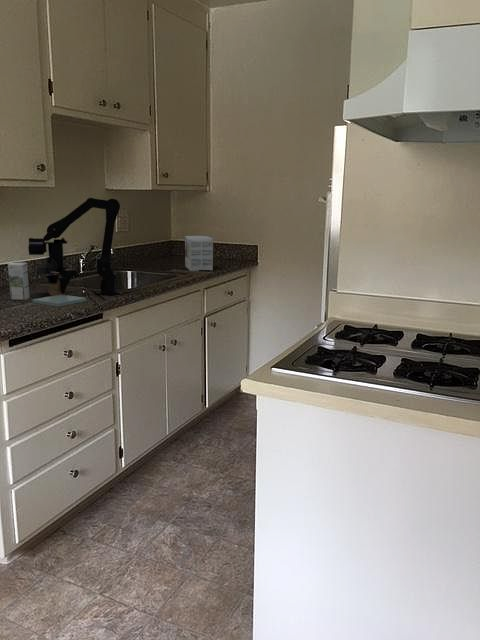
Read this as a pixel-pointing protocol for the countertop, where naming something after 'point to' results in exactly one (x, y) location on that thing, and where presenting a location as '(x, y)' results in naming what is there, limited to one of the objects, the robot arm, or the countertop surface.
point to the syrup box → (18, 280)
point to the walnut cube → (56, 289)
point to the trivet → (59, 300)
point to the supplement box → (198, 253)
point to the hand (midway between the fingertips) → (58, 292)
